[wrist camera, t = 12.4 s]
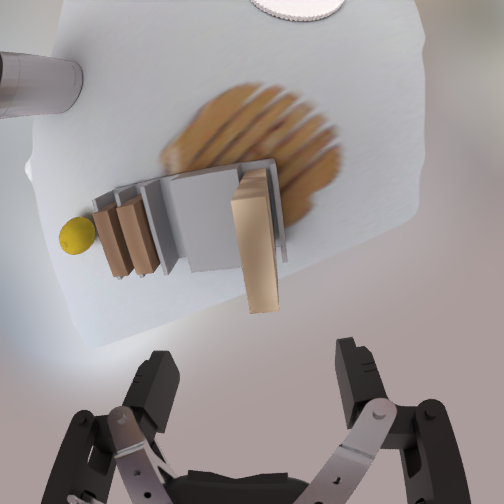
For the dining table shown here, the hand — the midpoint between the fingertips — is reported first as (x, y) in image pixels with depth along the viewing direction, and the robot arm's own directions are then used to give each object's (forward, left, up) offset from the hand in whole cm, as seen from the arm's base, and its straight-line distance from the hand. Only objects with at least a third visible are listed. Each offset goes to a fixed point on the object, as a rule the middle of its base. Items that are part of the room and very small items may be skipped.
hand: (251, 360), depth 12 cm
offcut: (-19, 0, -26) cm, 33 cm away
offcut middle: (-15, 0, -26) cm, 30 cm away
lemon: (-29, +1, -28) cm, 40 cm away
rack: (-10, 0, -28) cm, 29 cm away
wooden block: (0, 0, -26) cm, 26 cm away
